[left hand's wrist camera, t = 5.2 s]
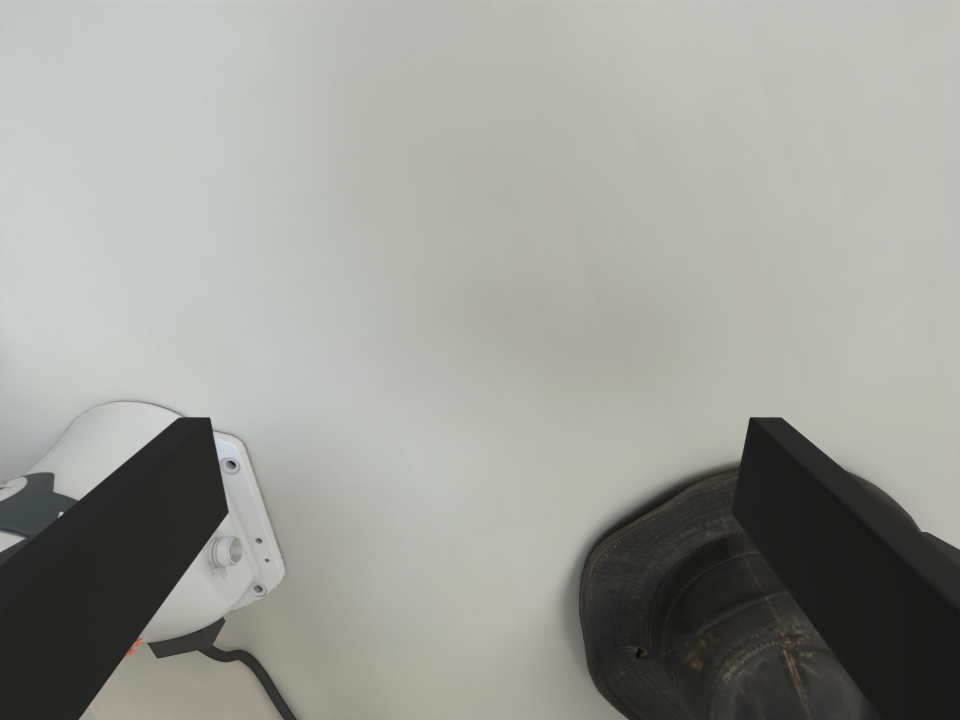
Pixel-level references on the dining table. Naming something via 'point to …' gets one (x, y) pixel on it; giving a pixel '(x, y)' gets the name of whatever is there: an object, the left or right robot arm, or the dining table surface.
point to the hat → (706, 621)
